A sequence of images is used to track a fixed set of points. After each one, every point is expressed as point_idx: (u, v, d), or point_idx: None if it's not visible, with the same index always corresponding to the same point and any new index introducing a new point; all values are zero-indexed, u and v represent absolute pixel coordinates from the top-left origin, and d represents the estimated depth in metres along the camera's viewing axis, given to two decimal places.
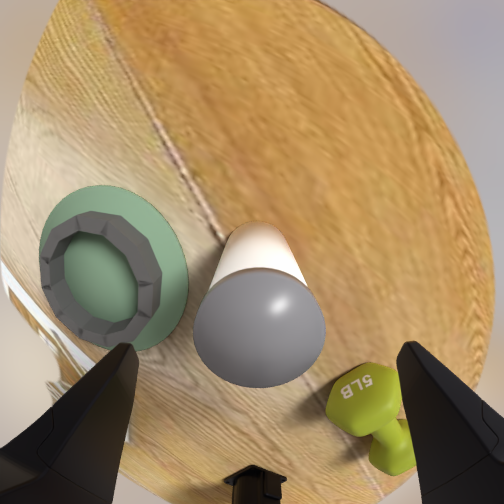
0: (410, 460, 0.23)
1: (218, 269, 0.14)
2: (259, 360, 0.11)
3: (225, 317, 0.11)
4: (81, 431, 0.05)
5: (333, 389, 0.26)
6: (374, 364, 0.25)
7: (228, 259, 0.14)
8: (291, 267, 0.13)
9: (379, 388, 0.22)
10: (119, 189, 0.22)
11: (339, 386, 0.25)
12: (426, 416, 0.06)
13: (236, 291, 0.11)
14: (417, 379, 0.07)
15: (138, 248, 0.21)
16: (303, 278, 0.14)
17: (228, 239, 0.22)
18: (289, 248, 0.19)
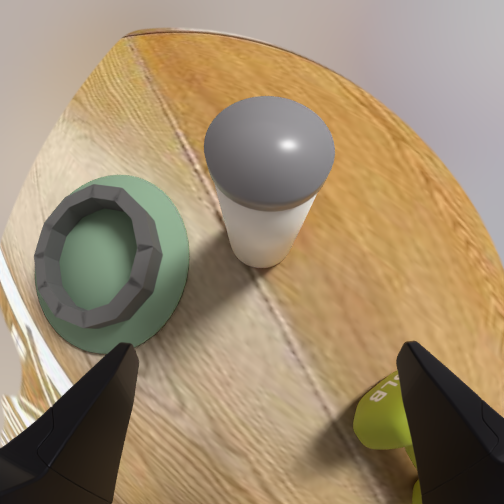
0: None
1: None
2: (270, 164, 0.11)
3: (238, 123, 0.11)
4: (81, 432, 0.05)
5: (359, 404, 0.19)
6: None
7: None
8: None
9: None
10: (136, 178, 0.25)
11: (366, 397, 0.19)
12: (426, 416, 0.06)
13: (249, 105, 0.12)
14: (417, 379, 0.07)
15: (145, 212, 0.21)
16: None
17: None
18: None
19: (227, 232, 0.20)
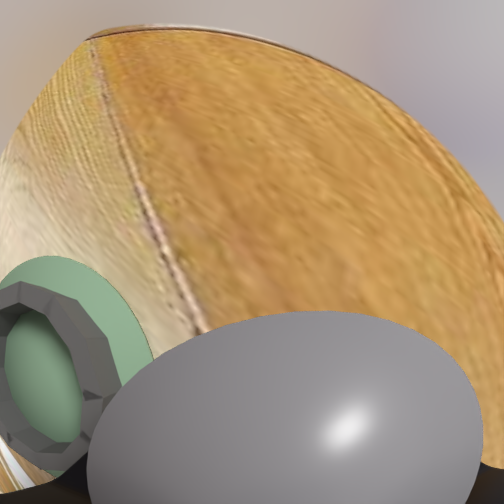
0: None
1: None
2: None
3: (184, 461, 0.02)
4: None
5: None
6: None
7: None
8: None
9: None
10: (80, 264, 0.16)
11: None
12: None
13: (226, 370, 0.03)
14: None
15: (87, 342, 0.12)
16: None
17: None
18: None
19: None
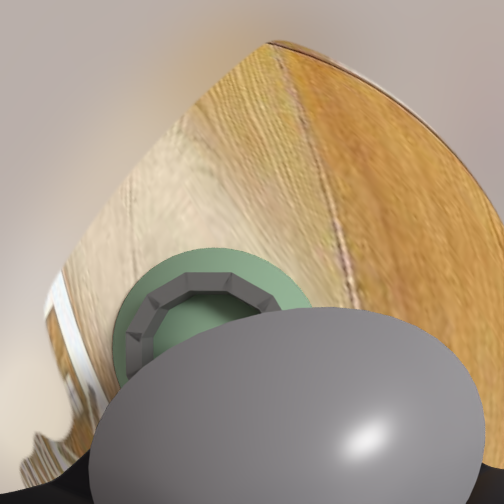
0: None
1: None
2: None
3: (187, 458, 0.02)
4: None
5: None
6: None
7: None
8: None
9: None
10: (279, 270, 0.22)
11: None
12: None
13: (230, 367, 0.03)
14: None
15: None
16: None
17: None
18: None
19: None
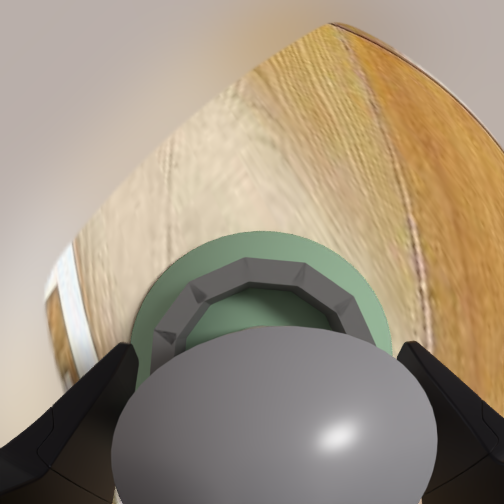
0: None
1: None
2: None
3: (189, 439, 0.03)
4: (81, 432, 0.05)
5: None
6: None
7: None
8: None
9: None
10: (352, 267, 0.17)
11: None
12: None
13: (221, 369, 0.04)
14: (417, 379, 0.07)
15: None
16: None
17: None
18: None
19: None
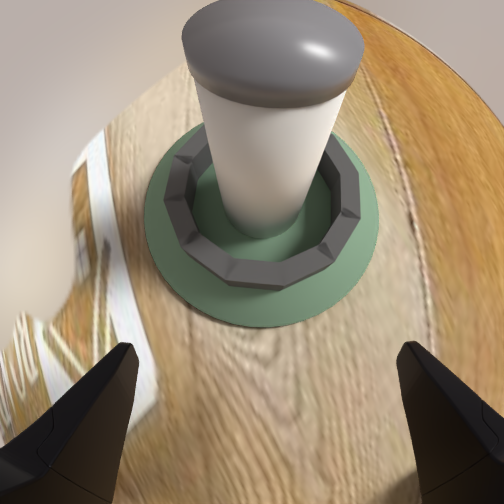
0: None
1: None
2: (275, 44, 0.06)
3: (230, 11, 0.07)
4: (81, 432, 0.05)
5: None
6: None
7: None
8: None
9: None
10: (333, 134, 0.20)
11: None
12: (426, 416, 0.06)
13: None
14: (417, 379, 0.07)
15: (358, 176, 0.17)
16: None
17: None
18: None
19: (219, 186, 0.15)
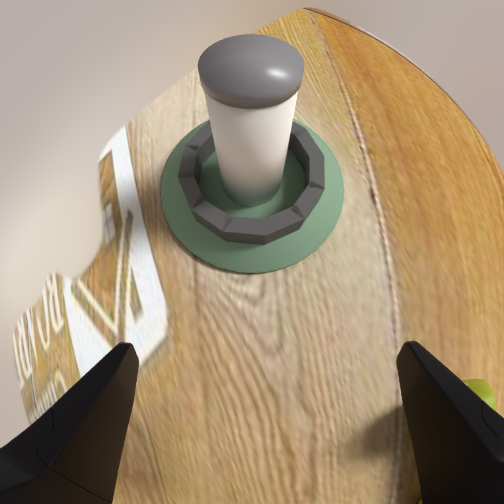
0: None
1: None
2: (250, 72, 0.12)
3: (226, 50, 0.12)
4: (81, 432, 0.05)
5: None
6: None
7: None
8: None
9: (478, 385, 0.16)
10: (309, 128, 0.26)
11: None
12: (426, 416, 0.06)
13: (235, 39, 0.13)
14: (417, 379, 0.07)
15: (323, 158, 0.23)
16: None
17: None
18: None
19: None
